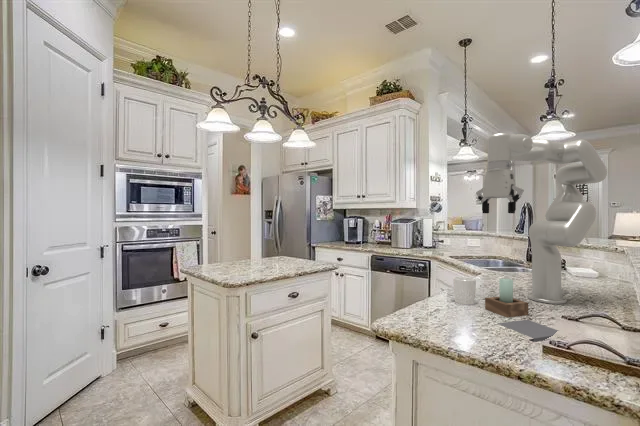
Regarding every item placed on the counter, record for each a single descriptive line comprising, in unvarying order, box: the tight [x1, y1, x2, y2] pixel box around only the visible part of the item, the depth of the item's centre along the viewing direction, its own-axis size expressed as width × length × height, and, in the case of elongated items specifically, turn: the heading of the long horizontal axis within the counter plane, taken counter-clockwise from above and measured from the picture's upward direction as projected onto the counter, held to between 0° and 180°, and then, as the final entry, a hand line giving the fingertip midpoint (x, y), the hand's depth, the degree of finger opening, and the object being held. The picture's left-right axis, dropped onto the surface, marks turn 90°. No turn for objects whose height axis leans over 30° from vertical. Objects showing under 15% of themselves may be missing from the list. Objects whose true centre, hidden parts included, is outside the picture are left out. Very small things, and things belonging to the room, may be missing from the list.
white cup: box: [452, 276, 477, 306], centre depth 119 cm, size 8×8×10 cm
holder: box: [484, 296, 529, 318], centre depth 107 cm, size 9×9×5 cm
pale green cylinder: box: [498, 278, 514, 303], centre depth 107 cm, size 4×4×11 cm
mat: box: [496, 319, 559, 343], centre depth 92 cm, size 12×12×1 cm
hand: (498, 213), depth 117 cm, fingers open, 9 cm apart
